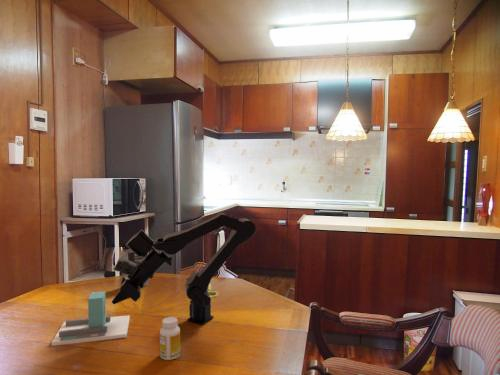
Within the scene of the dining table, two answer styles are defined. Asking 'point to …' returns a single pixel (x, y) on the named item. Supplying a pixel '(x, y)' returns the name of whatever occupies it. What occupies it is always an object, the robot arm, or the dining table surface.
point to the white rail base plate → (91, 330)
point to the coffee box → (134, 258)
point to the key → (212, 292)
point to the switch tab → (97, 309)
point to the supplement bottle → (169, 339)
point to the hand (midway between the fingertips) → (112, 303)
